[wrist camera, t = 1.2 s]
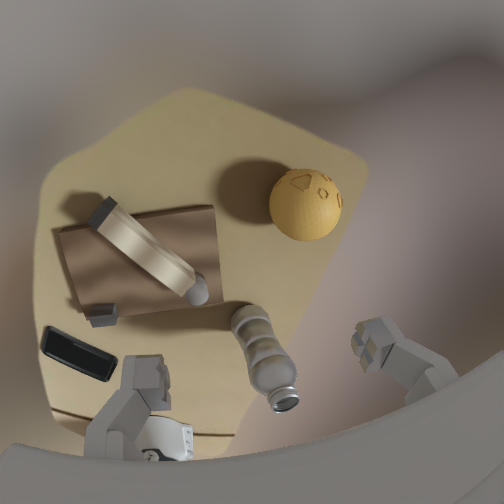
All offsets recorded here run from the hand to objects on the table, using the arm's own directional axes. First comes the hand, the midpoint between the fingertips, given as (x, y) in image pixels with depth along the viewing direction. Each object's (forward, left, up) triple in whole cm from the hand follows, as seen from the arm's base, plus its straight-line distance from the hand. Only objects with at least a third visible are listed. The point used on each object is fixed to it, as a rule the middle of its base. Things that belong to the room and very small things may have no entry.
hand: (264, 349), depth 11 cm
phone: (-26, +27, -32) cm, 49 cm away
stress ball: (-2, -14, -32) cm, 35 cm away
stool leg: (-7, +7, -29) cm, 31 cm away
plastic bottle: (-22, -6, -32) cm, 39 cm away
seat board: (-10, +10, -31) cm, 34 cm away
